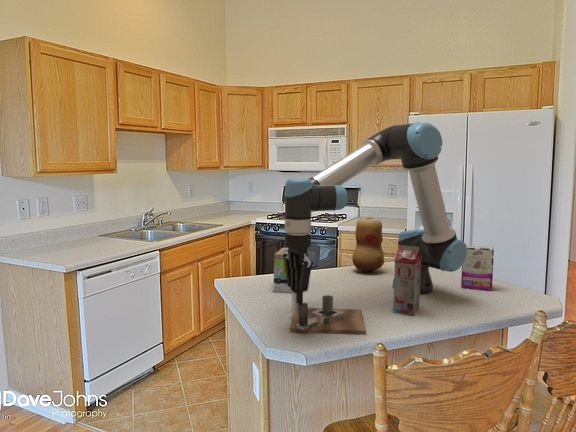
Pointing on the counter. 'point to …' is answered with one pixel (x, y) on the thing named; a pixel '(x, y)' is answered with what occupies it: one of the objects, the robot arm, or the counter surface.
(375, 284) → the counter surface
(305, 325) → the square frame with handle
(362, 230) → the butternut squash
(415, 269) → the juice carton
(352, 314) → the board
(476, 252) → the candy bar box
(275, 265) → the tea box
